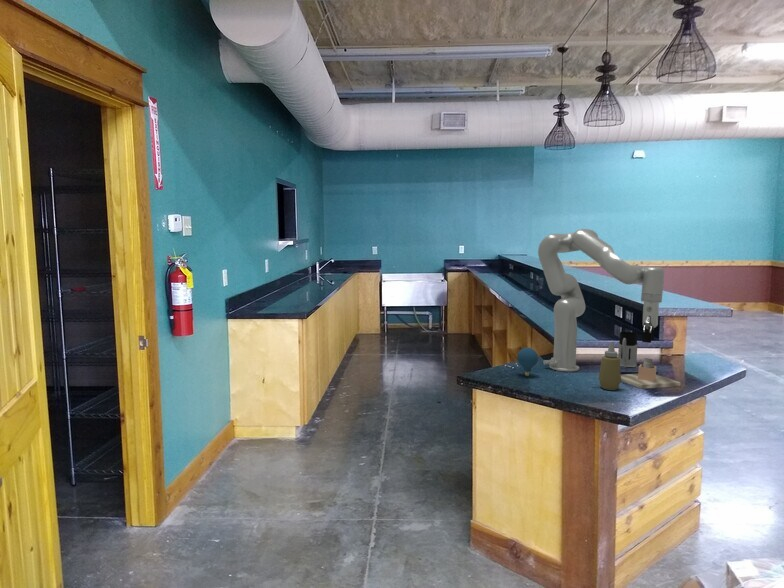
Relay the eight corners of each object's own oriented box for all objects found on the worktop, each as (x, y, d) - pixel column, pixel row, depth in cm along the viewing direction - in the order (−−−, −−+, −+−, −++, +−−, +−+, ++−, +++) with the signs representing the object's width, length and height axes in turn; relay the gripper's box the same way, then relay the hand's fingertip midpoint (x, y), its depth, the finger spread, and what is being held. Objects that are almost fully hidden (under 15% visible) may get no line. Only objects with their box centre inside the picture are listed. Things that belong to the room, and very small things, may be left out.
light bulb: (539, 375, 230) (540, 346, 229) (535, 379, 223) (536, 350, 222) (519, 372, 234) (520, 345, 233) (514, 377, 226) (515, 348, 225)
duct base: (641, 388, 211) (642, 364, 210) (614, 378, 226) (615, 355, 225) (680, 386, 215) (681, 362, 214) (651, 376, 231) (652, 354, 230)
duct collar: (637, 379, 220) (638, 366, 219) (639, 376, 225) (640, 364, 224) (654, 381, 217) (655, 368, 216) (655, 378, 222) (656, 366, 221)
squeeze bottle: (618, 392, 205) (621, 345, 203) (596, 389, 209) (598, 342, 208) (622, 387, 212) (624, 341, 210) (600, 384, 216) (602, 339, 215)
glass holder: (639, 365, 252) (641, 333, 250) (632, 371, 240) (634, 337, 239) (619, 362, 257) (620, 330, 255) (611, 368, 245) (613, 334, 244)
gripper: (660, 300, 208) (656, 345, 210) (663, 296, 223) (660, 338, 225) (638, 299, 212) (634, 342, 214) (643, 295, 227) (640, 336, 229)
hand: (647, 340), depth 219 cm, fingers open, 9 cm apart
